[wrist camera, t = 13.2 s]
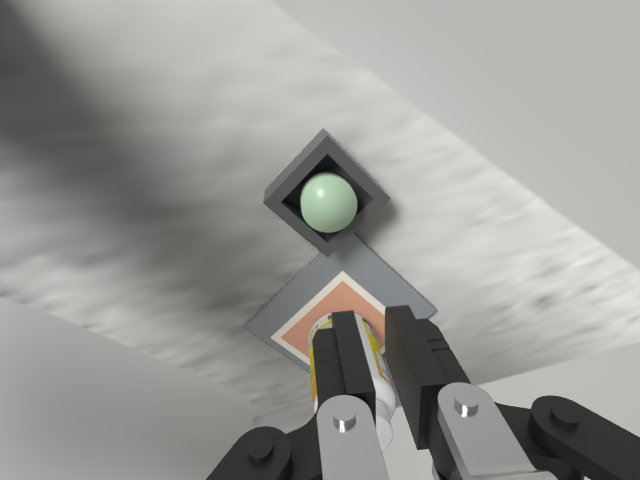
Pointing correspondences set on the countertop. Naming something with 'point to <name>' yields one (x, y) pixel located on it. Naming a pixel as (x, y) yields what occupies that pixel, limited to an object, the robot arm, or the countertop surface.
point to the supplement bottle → (378, 373)
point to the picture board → (334, 299)
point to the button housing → (310, 161)
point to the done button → (328, 202)
